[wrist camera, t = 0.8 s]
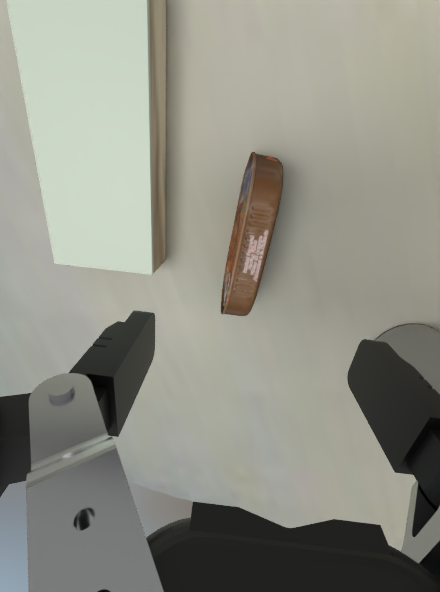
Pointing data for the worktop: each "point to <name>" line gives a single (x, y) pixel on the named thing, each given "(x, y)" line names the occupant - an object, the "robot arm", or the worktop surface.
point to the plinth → (97, 126)
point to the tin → (251, 233)
